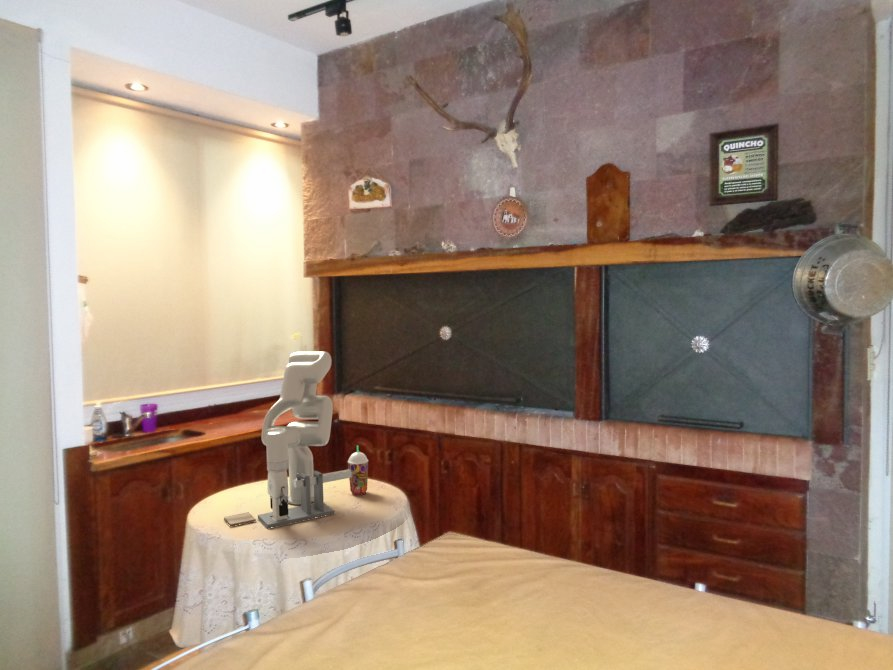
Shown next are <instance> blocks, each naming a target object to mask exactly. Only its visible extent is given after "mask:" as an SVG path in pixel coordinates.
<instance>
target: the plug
mask: <svg viewBox="0 0 893 670" xmlns="http://www.w3.org/2000/svg"><path fill="white" fill-rule="evenodd" d="M282 500H283V499H281V501H282ZM279 505H280V503H279V499H278V498H277V499H274V498H273V497H272V509H271V510H272V512H273V517H271V518H272V519H273V520H274V521H277V520H282V519H286V518H288V517H287V515H285V516H279Z"/></svg>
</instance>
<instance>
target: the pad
mask: <svg viewBox="0 0 893 670" xmlns="http://www.w3.org/2000/svg"><path fill="white" fill-rule="evenodd" d="M223 520H224V522H226V524H227V523H228V524H229V525H230V526H234V527H236V526H235V525H238V526H240V525H239V524H243V525H245V524H244V523H248V524H250V523H249V522H253V523H255V522H254V521H257V518H256V517H254V515H252V514H251V512H249V511H248V512H243V513H242V512H241V513H238V514H232V515H228V516H224V517H223ZM228 524H227V525H228ZM229 525H228V526H229ZM230 526H229V527H230Z"/></svg>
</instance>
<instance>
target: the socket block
mask: <svg viewBox="0 0 893 670" xmlns="http://www.w3.org/2000/svg"><path fill="white" fill-rule="evenodd" d="M323 474H324V473H321V472H320V471H318V470H313V476H314V475H316V476H318V484H315V485H314V502H312V503H311V498H310V476H308V475H307V474H305V473H301V478H304V479H305V486H304V487H301V505H300V506H299V505H298V506H295V507H291V508H290V507H288V515H287V517H288V518H286V519H282V520H277V521H274V520H273V519H272V518H271V517H273V511H270V512H266V513H260V514H257V519H259V520H260V523H261V524H262V525H263V526H265V528H266V529H268V528H270V529H272V528H271V527H274V528H277V527H276V526H279V527H283V526H287V525H286V524H288V525H291V524H290V523H292V524H296V523H295V522H297V523H300V522H299V521H302V522H304V521H303V520H306V521H309V520H308V519H311V520H313V519H312V518H315V517H320V518H322V517H321V516H324V517H326V516H325V515H329V514H333V515H335V509H333V508H332V507H330V506H329V505H327V504H326V503H324V483H323ZM329 516H330V515H329ZM315 519H316V518H315ZM259 520H258V521H259ZM282 525H283V526H282Z"/></svg>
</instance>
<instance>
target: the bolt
mask: <svg viewBox="0 0 893 670" xmlns="http://www.w3.org/2000/svg"><path fill="white" fill-rule="evenodd" d="M322 474H323V484H325V483H329V482H330V483H331V482H334V481H339V480H345V479H349V478H352V476H351V470H349V469H348V468H347V469H344V470H342V469H341V470H338V471H336V470H335V471H333V472H332V471H331V472H327V473H322ZM315 484H318V476H316V475H314V476H310V485H315ZM304 486H305V479H304V478H301V473H300V472H298V473H296V479H294V487H296V488H299V487H304Z"/></svg>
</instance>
